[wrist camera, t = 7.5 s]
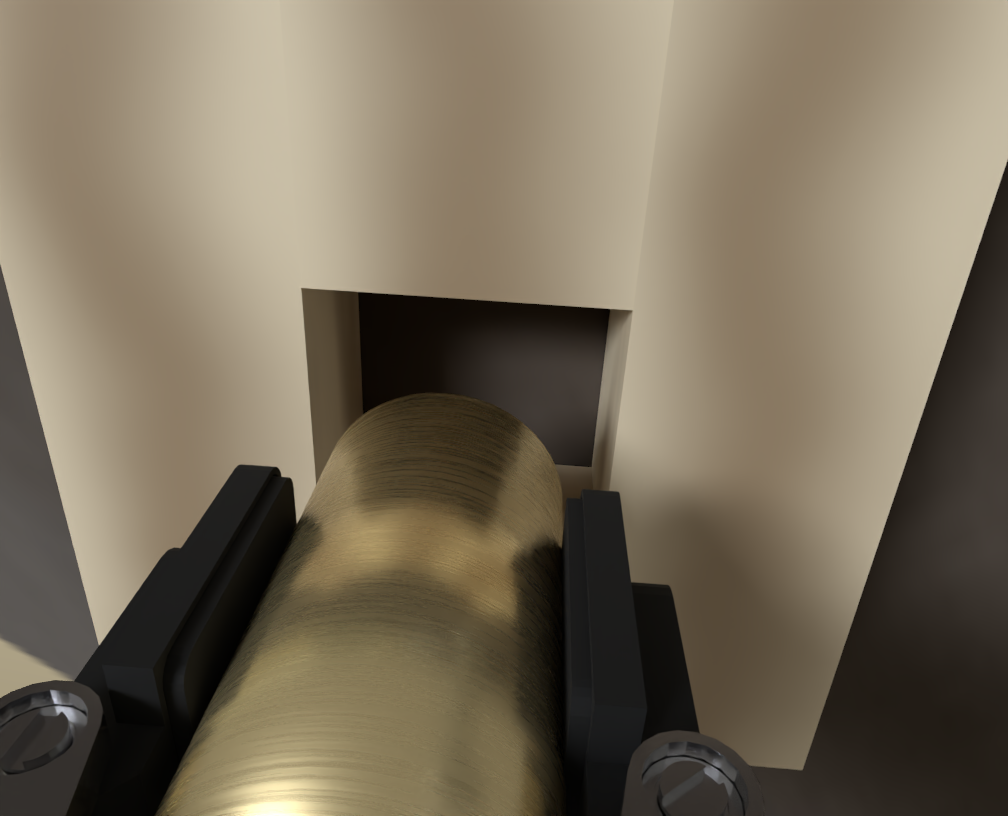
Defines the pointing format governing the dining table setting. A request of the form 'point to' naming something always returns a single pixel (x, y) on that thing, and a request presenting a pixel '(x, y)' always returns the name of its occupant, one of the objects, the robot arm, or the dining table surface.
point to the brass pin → (401, 635)
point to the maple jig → (513, 266)
